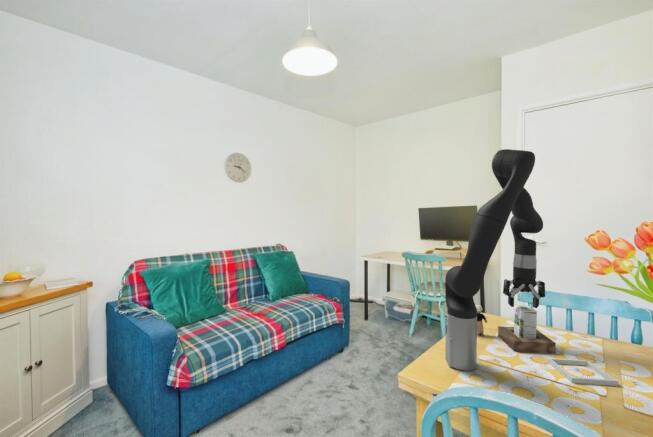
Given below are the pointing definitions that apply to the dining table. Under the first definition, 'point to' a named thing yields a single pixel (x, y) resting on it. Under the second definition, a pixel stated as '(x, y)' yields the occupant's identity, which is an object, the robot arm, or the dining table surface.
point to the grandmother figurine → (480, 321)
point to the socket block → (526, 342)
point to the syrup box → (525, 322)
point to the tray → (606, 381)
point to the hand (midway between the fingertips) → (523, 306)
